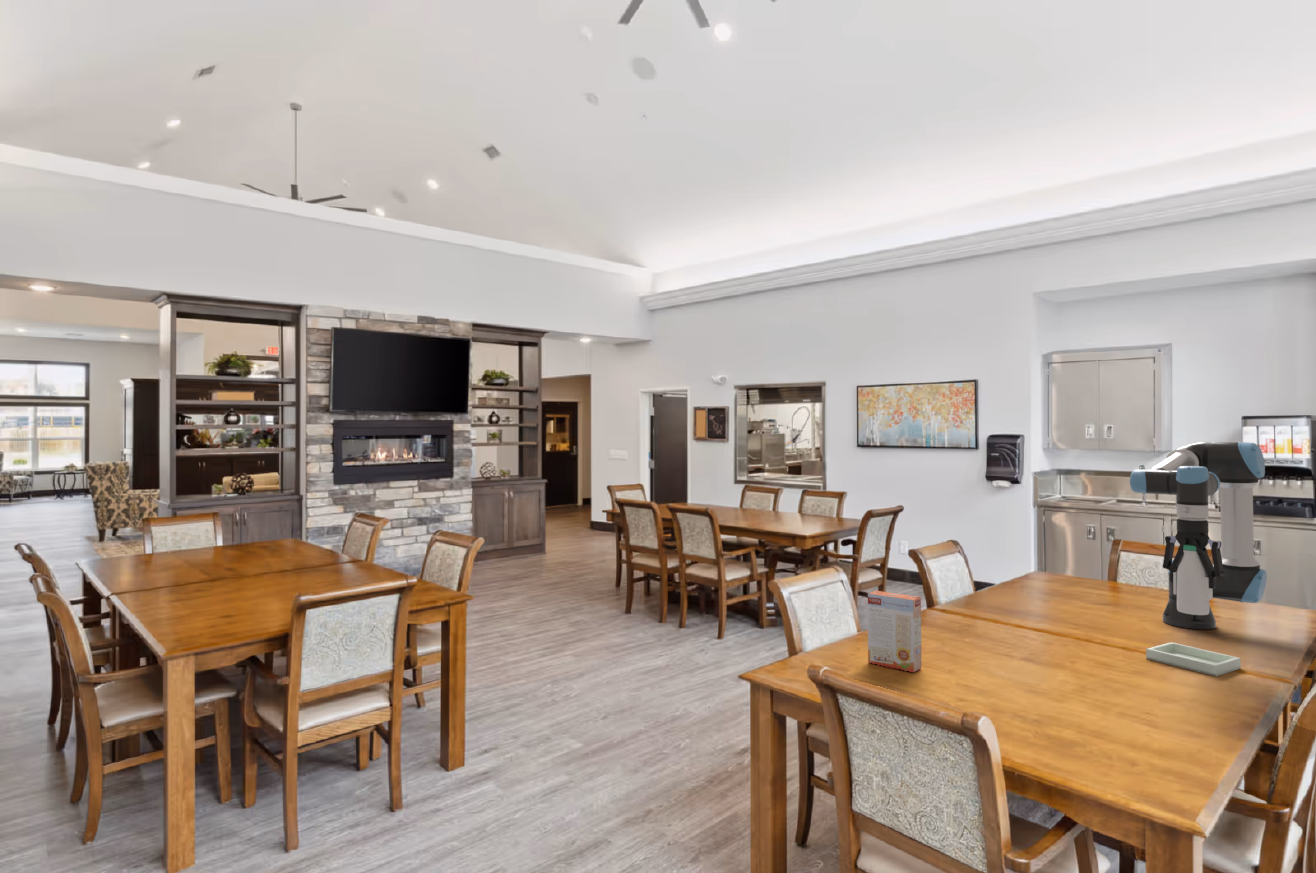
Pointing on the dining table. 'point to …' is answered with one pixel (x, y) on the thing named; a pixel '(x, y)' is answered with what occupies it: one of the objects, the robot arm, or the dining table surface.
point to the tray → (1193, 658)
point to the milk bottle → (1191, 584)
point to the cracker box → (894, 630)
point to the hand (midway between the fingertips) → (1192, 596)
